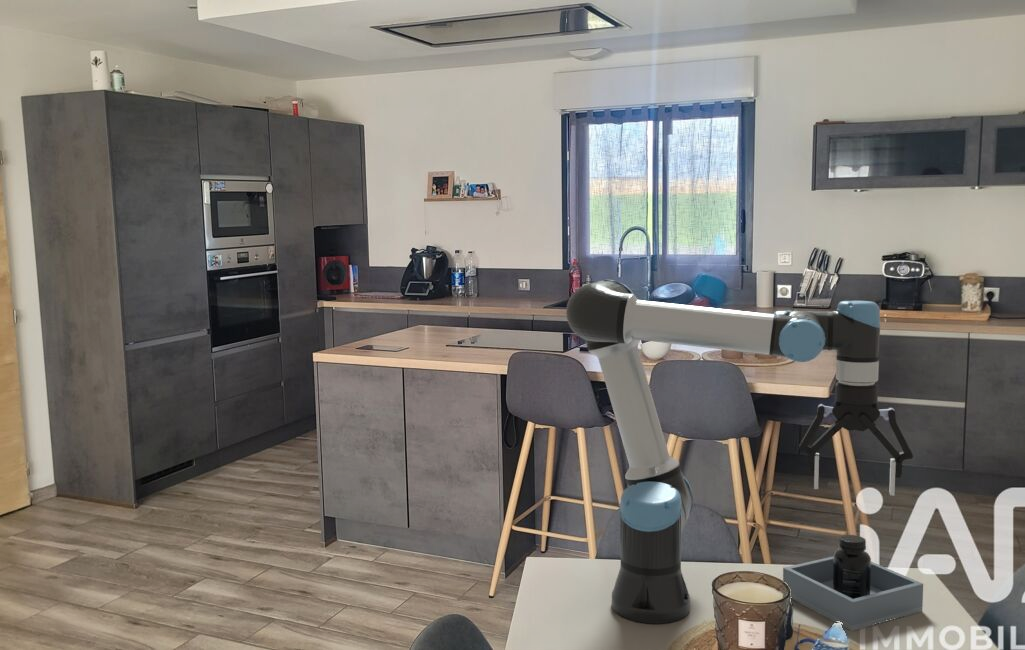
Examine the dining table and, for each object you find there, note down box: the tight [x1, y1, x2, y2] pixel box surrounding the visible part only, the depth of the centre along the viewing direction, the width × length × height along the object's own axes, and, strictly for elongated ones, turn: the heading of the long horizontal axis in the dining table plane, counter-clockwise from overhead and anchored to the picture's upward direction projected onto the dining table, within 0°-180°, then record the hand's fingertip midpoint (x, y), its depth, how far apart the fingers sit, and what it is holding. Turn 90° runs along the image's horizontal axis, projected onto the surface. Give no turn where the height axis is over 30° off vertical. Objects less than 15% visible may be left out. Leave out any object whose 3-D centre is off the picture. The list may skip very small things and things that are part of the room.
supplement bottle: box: [833, 534, 872, 599], centre depth 167 cm, size 7×7×12 cm
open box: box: [782, 555, 924, 632], centre depth 167 cm, size 18×18×6 cm
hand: (853, 490), depth 165 cm, fingers open, 13 cm apart
